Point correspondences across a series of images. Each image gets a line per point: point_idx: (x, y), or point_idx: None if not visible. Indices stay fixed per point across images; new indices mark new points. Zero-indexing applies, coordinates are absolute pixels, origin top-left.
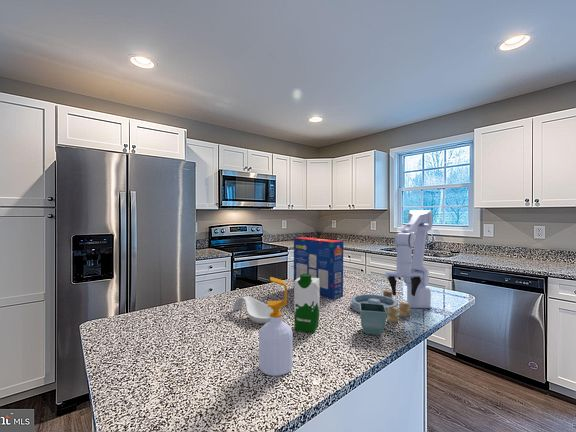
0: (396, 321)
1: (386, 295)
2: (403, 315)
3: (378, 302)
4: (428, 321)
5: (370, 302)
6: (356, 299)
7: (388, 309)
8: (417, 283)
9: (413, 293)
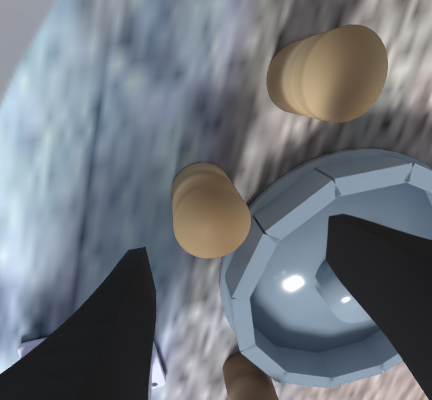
0: (286, 46)
1: (266, 389)
2: (215, 166)
3: None
4: (62, 110)
5: None
6: None
7: (381, 53)
8: (33, 376)
9: (141, 259)
